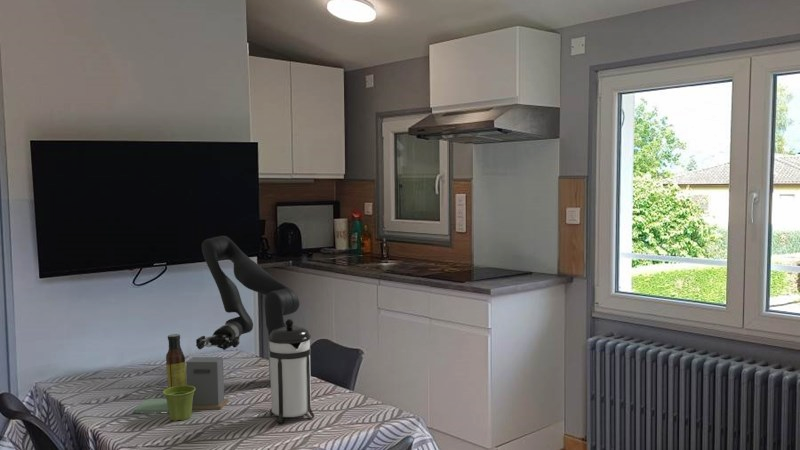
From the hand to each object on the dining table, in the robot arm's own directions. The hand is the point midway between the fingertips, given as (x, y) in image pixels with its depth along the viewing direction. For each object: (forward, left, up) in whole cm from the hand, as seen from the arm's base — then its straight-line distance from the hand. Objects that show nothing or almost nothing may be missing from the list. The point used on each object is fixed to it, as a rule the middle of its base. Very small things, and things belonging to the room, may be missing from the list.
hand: (211, 346), depth 231 cm
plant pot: (+1, +26, -16) cm, 31 cm away
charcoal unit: (-3, +15, -16) cm, 22 cm away
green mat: (+12, +17, -16) cm, 26 cm away
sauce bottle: (+12, +1, -16) cm, 20 cm away
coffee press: (-32, +24, -16) cm, 43 cm away
